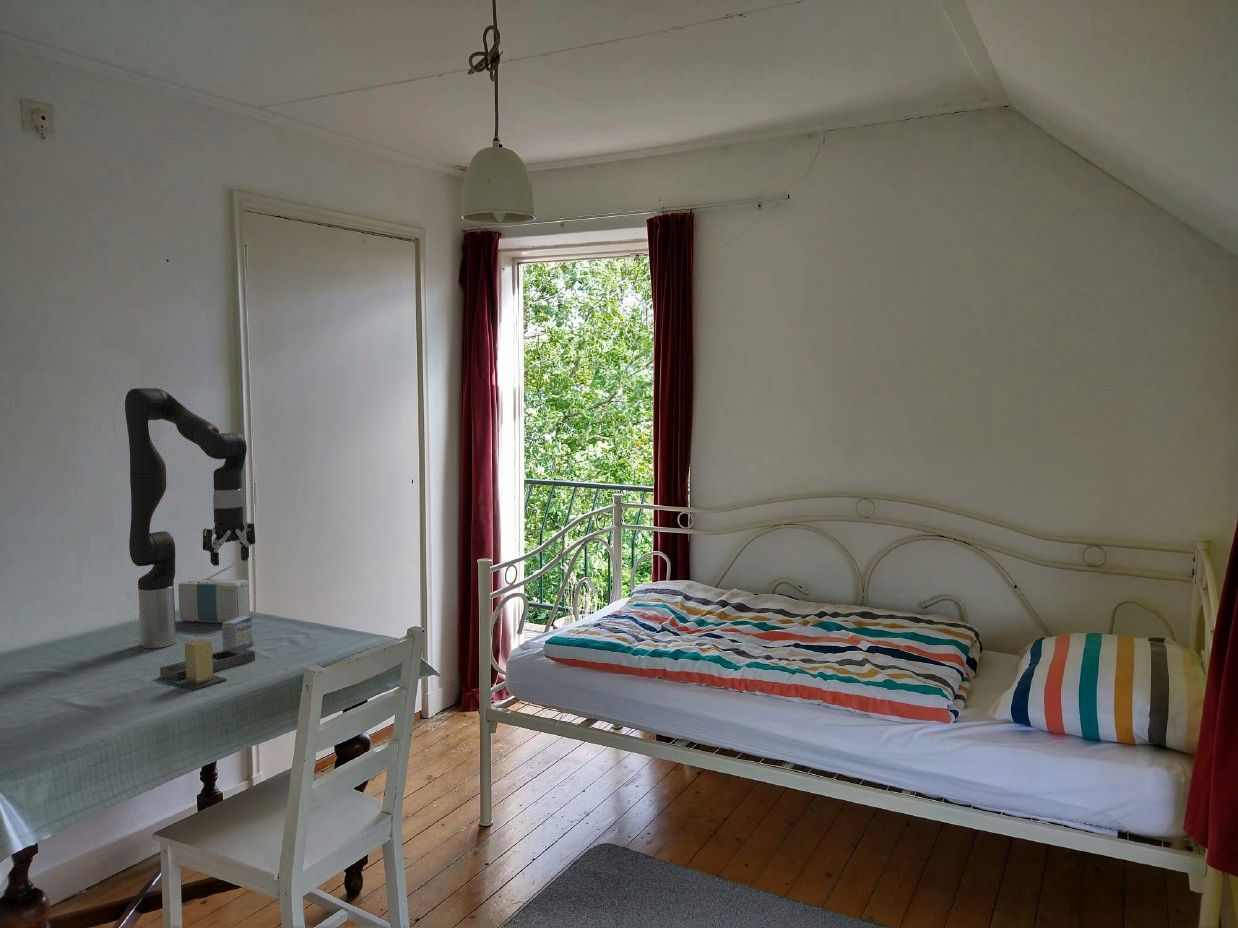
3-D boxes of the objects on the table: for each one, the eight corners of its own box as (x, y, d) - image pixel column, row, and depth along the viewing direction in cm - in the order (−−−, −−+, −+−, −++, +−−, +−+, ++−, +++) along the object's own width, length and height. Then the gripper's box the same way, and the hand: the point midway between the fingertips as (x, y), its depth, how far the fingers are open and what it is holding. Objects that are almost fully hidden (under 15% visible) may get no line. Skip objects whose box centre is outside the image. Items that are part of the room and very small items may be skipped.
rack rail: (160, 676, 226) (160, 667, 225) (237, 655, 244) (237, 646, 244) (177, 682, 221) (177, 672, 221) (255, 660, 239) (254, 650, 239)
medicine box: (236, 653, 246) (235, 623, 245) (222, 652, 247) (221, 622, 246) (253, 645, 254) (252, 616, 253) (240, 644, 255) (238, 615, 254)
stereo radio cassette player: (178, 622, 280) (175, 561, 278) (195, 616, 288) (192, 557, 286) (237, 625, 276) (234, 563, 274) (252, 619, 284) (249, 558, 282)
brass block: (186, 681, 220) (184, 642, 219) (203, 676, 224) (201, 638, 223) (196, 684, 218) (194, 645, 217) (213, 679, 222) (211, 641, 221)
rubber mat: (172, 684, 220) (172, 682, 220) (206, 674, 227) (206, 672, 227) (192, 690, 215) (192, 688, 215) (226, 680, 222) (226, 678, 222)
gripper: (244, 501, 247) (245, 557, 249) (195, 506, 236) (198, 565, 237) (259, 503, 243) (261, 560, 245) (211, 509, 231) (213, 568, 233)
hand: (230, 562), depth 241 cm, fingers open, 8 cm apart
